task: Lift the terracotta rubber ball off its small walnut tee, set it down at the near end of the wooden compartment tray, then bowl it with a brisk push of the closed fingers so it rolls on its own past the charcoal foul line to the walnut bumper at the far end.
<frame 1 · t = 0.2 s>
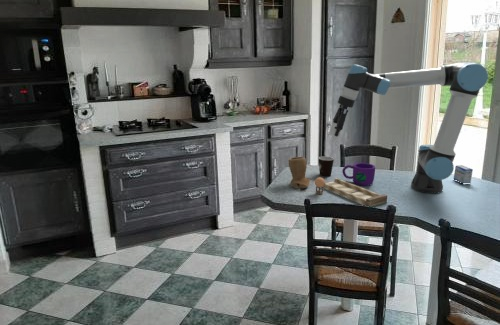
hand: (331, 138, 193), 27 cm above the table, tool tilted 15°, fingers open, 13 cm apart
brown boot: (298, 185, 209), on the table
wooden compartment tray: (351, 193, 196), on the table
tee: (319, 193, 197), on the table
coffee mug: (325, 174, 227), on the table
mug: (357, 182, 213), on the table
medicine box: (461, 182, 212), on the table
ball: (319, 182, 195), point 6 cm above the table, touching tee
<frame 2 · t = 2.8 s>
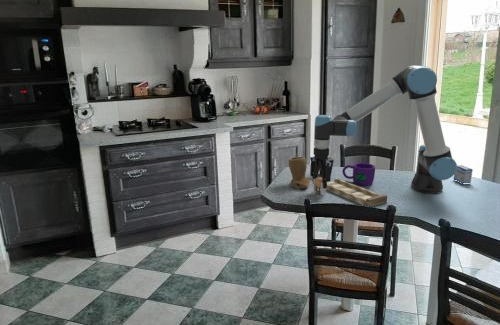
hand: (319, 192, 196), 1 cm above the table, tool pointing down, fingers closed on ball, 5 cm apart
ball: (319, 182, 195), point 6 cm above the table, touching gripper, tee
everything else where it was.
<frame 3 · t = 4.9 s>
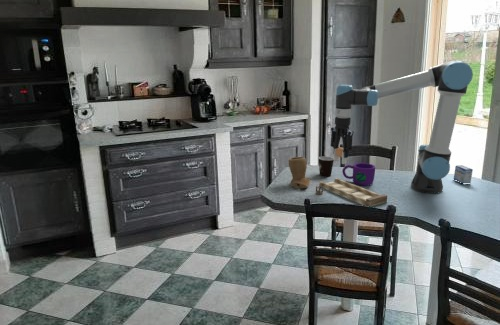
hand: (340, 162, 199), 14 cm above the table, tool pointing down, fingers closed on ball, 5 cm apart
ball: (340, 152, 198), point 20 cm above the table, touching gripper
everything else where it was.
when the fingers open (2 cm above the table, at t = 7.0 s): ball drops 4 cm, resting on wooden compartment tray.
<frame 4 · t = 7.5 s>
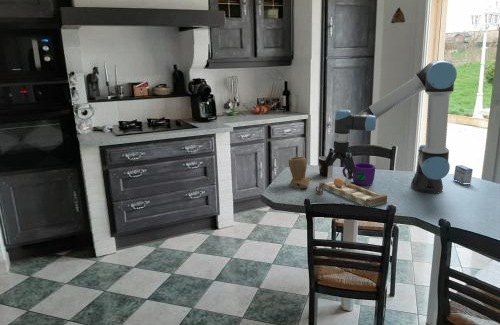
hand: (338, 181, 202), 4 cm above the table, tool pointing down, fingers open, 13 cm apart
ball: (338, 182, 202), point 3 cm above the table, touching wooden compartment tray
everything else where it was.
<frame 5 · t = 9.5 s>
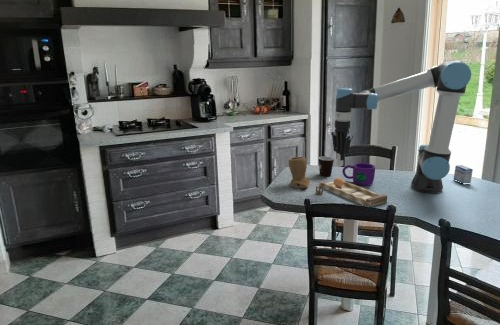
hand: (339, 165, 200), 12 cm above the table, tool pointing down, fingers closed
nothing on the table moved.
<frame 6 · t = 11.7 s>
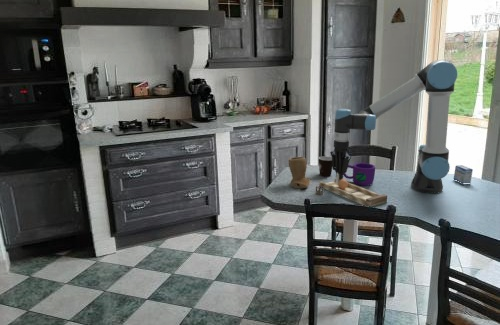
hand: (338, 184, 203), 2 cm above the table, tool pointing down, fingers closed
ball: (343, 184, 199), point 3 cm above the table, tilted 66°, touching wooden compartment tray
everything else where it was.
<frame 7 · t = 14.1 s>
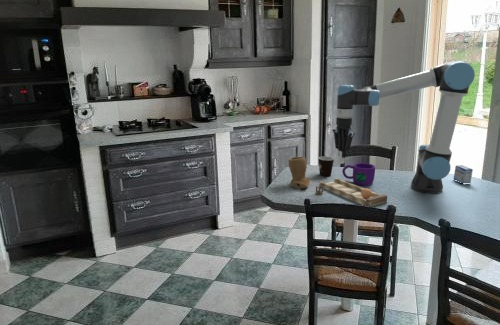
hand: (341, 163, 198), 14 cm above the table, tool pointing down, fingers closed
ball: (366, 193, 186), point 3 cm above the table, tilted 70°, touching wooden compartment tray
everything else where it was.
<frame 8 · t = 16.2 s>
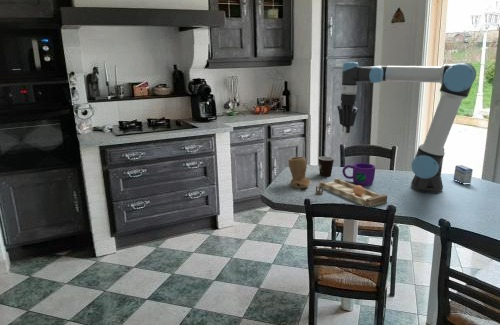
hand: (345, 138, 206), 24 cm above the table, tool pointing down, fingers closed
ball: (358, 190, 190), point 3 cm above the table, tilted 43°, touching wooden compartment tray
everything else where it was.
at the end: ball inside the target area (4.0 cm from its centre), point 3.5 cm above the table; the gripper is holding nothing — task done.
